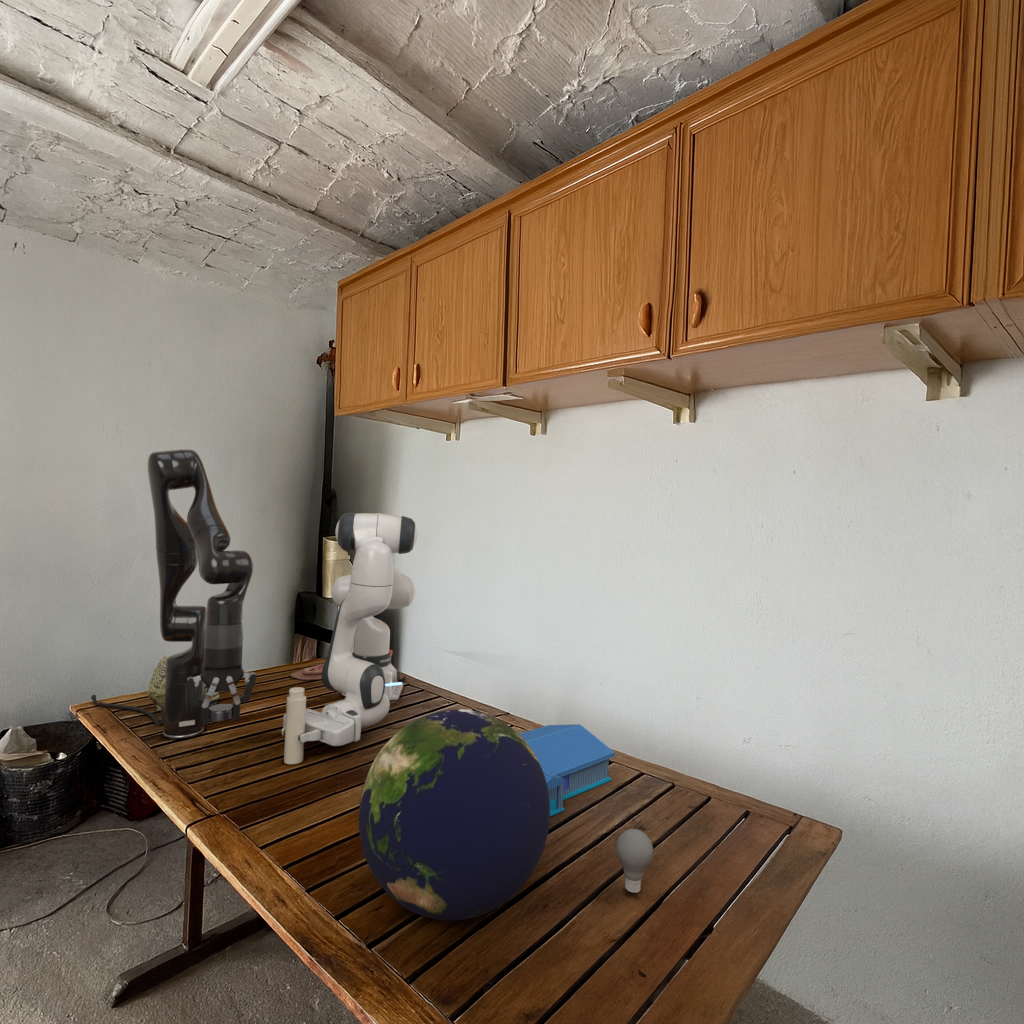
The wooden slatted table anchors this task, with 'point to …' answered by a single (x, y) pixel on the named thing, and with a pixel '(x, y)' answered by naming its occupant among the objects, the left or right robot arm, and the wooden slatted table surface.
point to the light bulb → (634, 857)
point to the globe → (454, 815)
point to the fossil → (158, 686)
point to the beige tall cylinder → (294, 726)
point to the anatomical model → (309, 673)
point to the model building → (569, 760)
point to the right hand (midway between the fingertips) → (291, 735)
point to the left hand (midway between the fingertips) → (220, 722)
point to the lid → (220, 712)
